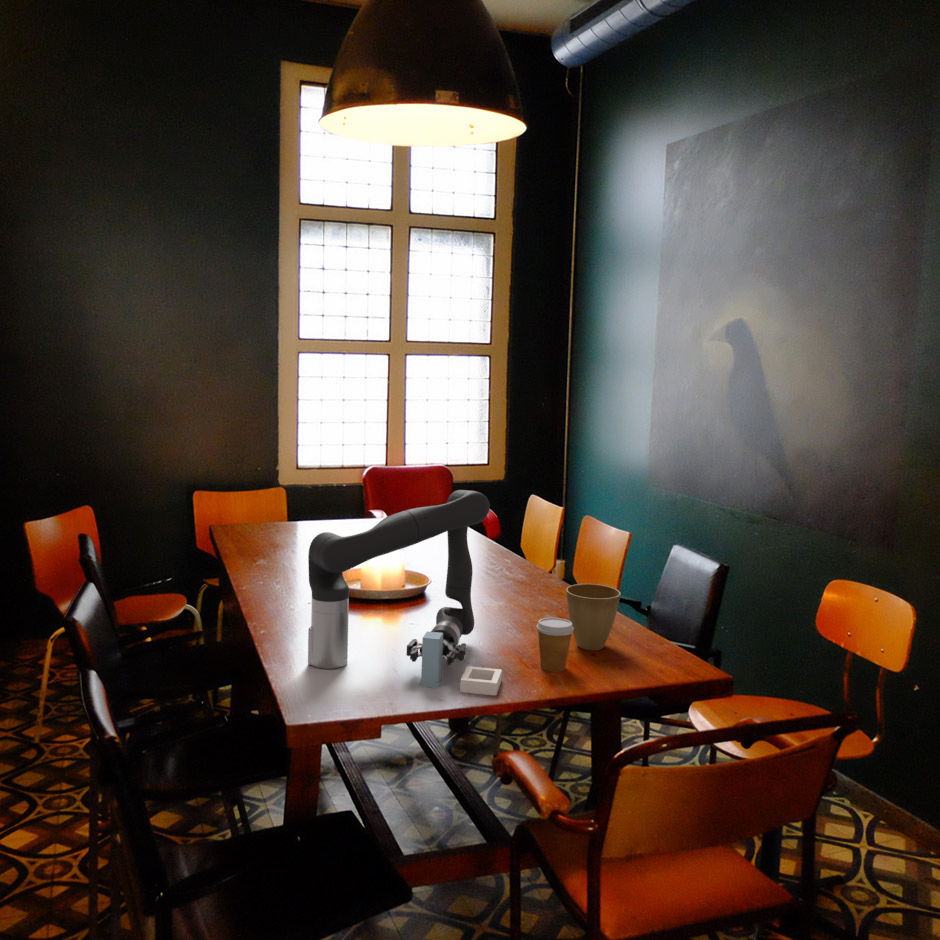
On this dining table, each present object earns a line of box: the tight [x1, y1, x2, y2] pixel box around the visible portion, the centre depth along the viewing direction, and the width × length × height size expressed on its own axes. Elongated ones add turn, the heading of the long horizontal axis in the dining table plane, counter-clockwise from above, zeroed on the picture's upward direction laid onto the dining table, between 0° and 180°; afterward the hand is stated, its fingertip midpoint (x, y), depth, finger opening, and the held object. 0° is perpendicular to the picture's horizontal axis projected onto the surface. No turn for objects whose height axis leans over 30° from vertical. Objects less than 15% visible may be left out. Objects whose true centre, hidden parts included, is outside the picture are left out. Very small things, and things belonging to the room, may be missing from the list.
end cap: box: [459, 665, 503, 696], centre depth 209 cm, size 9×10×3 cm
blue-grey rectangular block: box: [420, 631, 443, 689], centre depth 210 cm, size 4×5×12 cm
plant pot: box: [565, 583, 621, 651], centre depth 242 cm, size 15×15×16 cm
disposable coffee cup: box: [536, 617, 574, 673], centre depth 224 cm, size 10×10×12 cm
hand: (430, 659), depth 208 cm, fingers open, 8 cm apart
